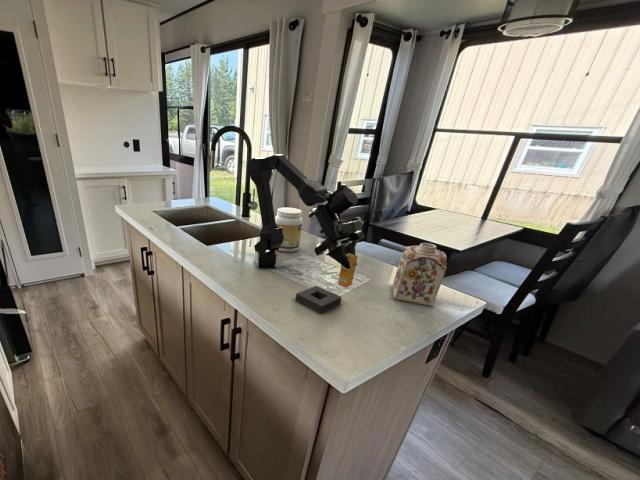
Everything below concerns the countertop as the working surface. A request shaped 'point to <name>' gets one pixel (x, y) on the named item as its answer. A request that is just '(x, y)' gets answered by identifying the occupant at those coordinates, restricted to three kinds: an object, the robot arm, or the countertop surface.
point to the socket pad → (318, 299)
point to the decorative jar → (419, 274)
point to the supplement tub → (289, 228)
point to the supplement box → (348, 271)
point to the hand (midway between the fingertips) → (352, 267)
